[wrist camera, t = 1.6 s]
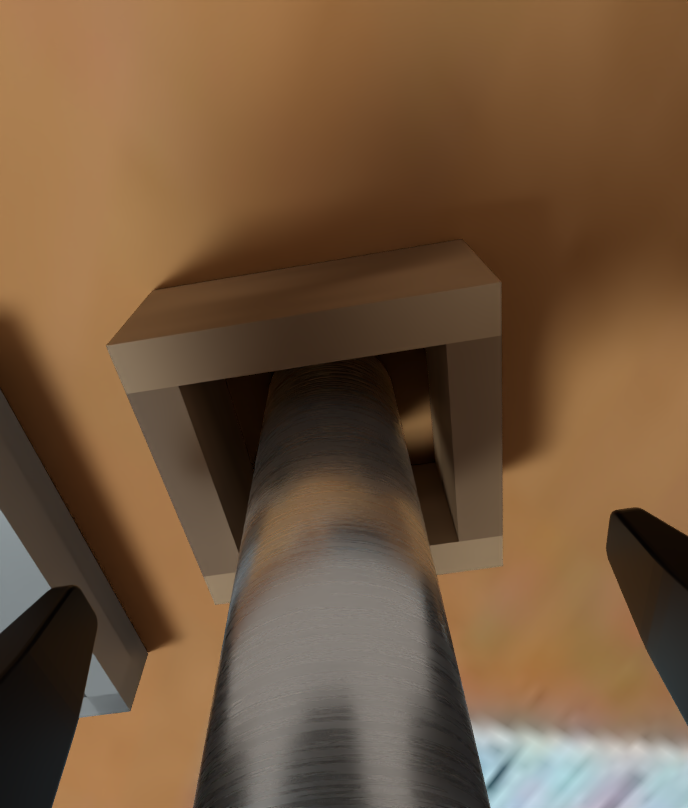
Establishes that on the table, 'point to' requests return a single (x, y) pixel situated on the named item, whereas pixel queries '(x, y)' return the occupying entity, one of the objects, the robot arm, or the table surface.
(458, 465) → the socket
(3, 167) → the table surface
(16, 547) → the tray
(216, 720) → the pin
